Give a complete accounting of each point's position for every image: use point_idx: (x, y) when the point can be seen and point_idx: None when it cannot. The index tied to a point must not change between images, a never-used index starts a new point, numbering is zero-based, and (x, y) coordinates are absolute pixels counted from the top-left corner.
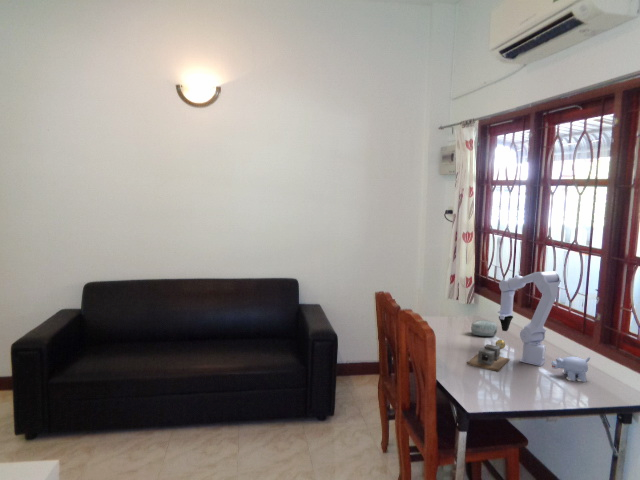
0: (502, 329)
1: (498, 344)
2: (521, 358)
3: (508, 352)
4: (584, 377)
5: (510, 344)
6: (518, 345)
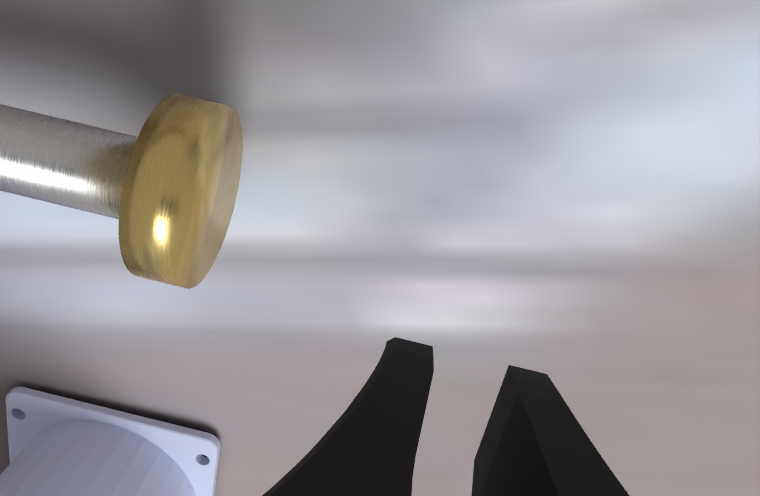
0: (382, 362)
1: (6, 174)
2: (94, 414)
3: (306, 263)
4: None
5: (750, 290)
6: (730, 395)
